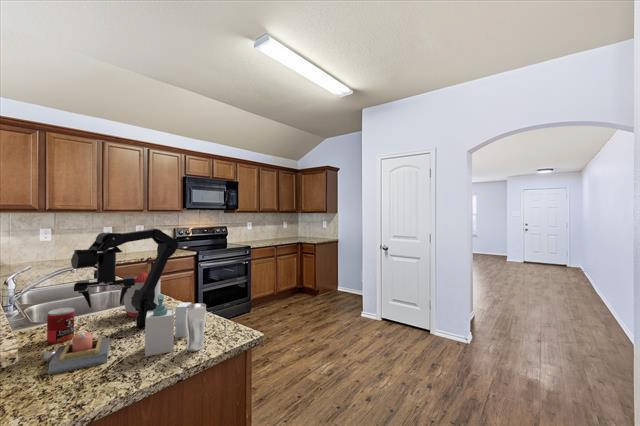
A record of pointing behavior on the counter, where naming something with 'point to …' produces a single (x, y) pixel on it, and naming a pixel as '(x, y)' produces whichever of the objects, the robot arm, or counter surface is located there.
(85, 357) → the grey and gold frame
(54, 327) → the canned food
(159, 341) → the soap bottle
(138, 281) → the citrus juicer
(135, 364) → the counter surface
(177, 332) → the skincare box
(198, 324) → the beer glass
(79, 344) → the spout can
